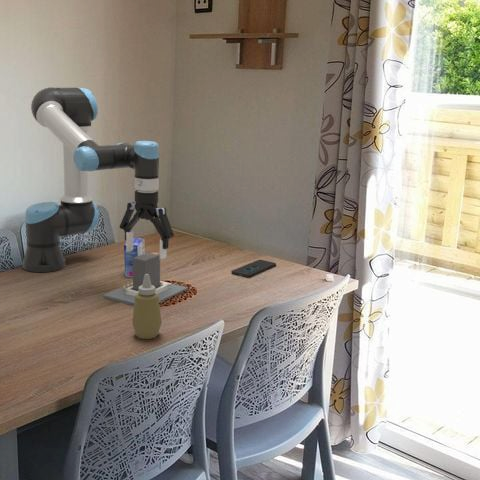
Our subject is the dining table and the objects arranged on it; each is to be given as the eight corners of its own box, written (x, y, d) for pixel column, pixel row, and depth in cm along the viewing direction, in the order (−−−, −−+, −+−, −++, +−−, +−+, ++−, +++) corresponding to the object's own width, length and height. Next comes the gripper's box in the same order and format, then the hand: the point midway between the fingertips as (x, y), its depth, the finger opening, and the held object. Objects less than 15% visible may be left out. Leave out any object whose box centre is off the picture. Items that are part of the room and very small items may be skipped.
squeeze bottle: (133, 329, 183) (132, 270, 178) (161, 329, 184) (162, 270, 179) (131, 341, 175) (130, 279, 170) (161, 341, 176) (161, 279, 171)
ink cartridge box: (131, 269, 238) (130, 231, 234) (145, 269, 237) (145, 232, 233) (123, 277, 228) (123, 238, 224) (138, 278, 228) (138, 239, 224)
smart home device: (230, 270, 236) (259, 258, 252) (230, 275, 236) (258, 263, 252) (249, 275, 231) (277, 262, 248) (248, 279, 232) (276, 267, 248)
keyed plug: (132, 293, 210) (132, 258, 206) (150, 285, 217) (150, 251, 214) (145, 296, 207) (145, 260, 204) (162, 288, 215) (162, 254, 212)
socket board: (103, 297, 207) (103, 290, 206) (145, 280, 226) (145, 273, 225) (148, 309, 198) (148, 302, 198) (187, 290, 217) (188, 283, 216)
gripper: (108, 186, 206) (109, 250, 211) (171, 197, 194) (170, 264, 200) (123, 183, 212) (123, 245, 218) (185, 194, 200) (184, 258, 206)
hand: (146, 254), depth 209 cm, fingers open, 13 cm apart
